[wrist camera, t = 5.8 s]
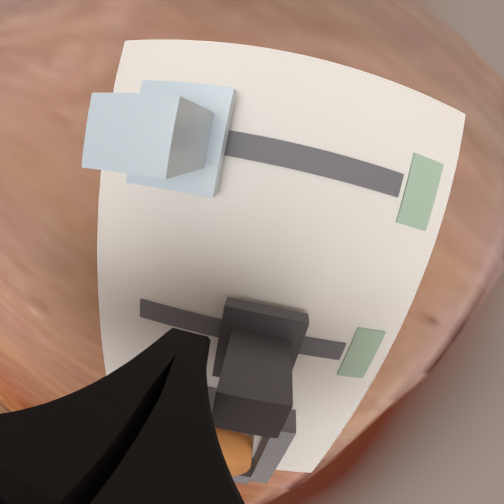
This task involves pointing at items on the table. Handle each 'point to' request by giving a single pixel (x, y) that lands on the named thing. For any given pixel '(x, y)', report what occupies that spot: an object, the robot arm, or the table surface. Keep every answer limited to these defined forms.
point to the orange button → (236, 450)
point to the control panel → (283, 225)
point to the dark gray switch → (256, 366)
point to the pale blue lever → (162, 135)
